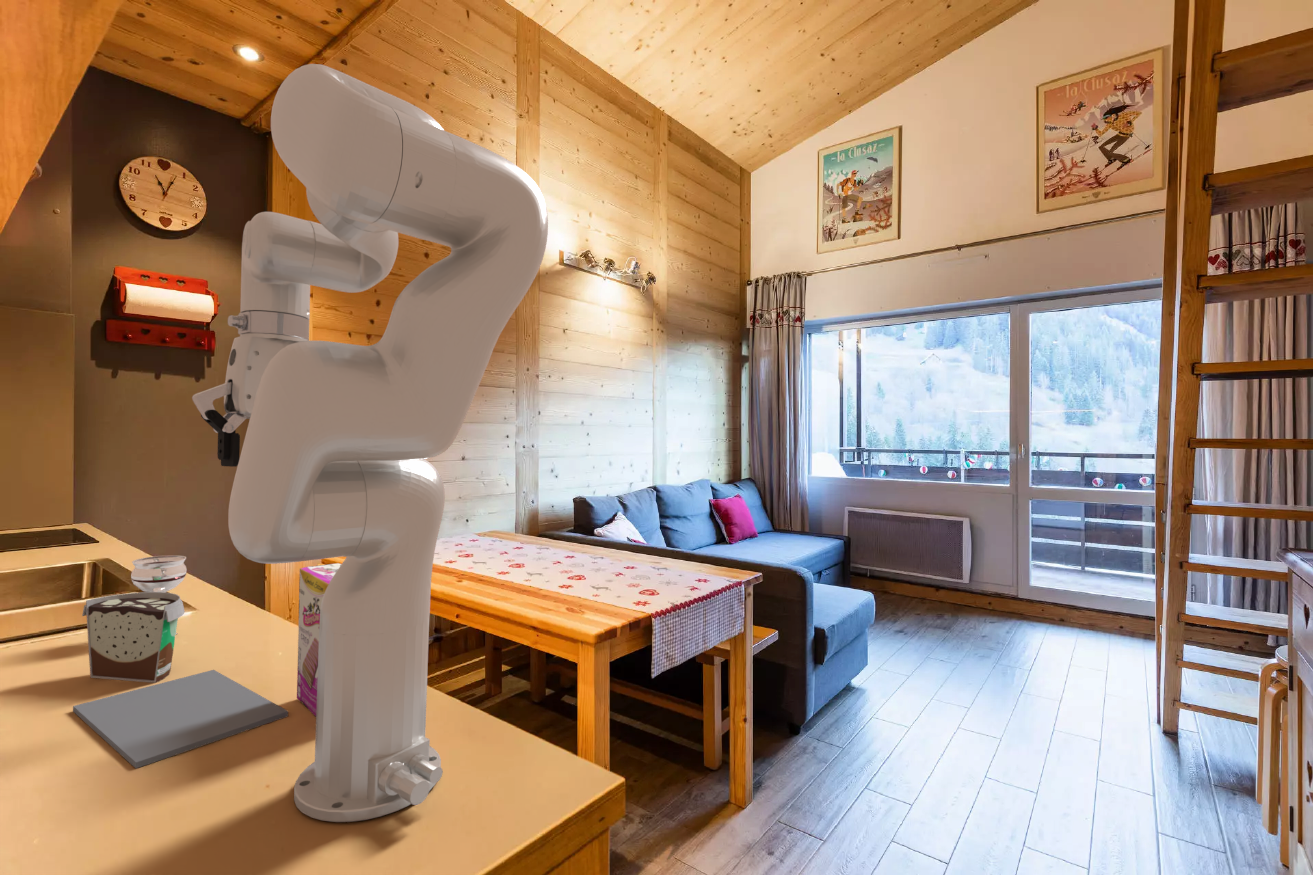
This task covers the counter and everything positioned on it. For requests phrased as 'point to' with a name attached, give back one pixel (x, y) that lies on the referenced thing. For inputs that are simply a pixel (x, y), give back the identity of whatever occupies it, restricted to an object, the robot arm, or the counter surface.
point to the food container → (132, 635)
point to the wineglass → (158, 573)
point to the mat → (176, 716)
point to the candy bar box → (310, 629)
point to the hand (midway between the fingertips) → (272, 465)
